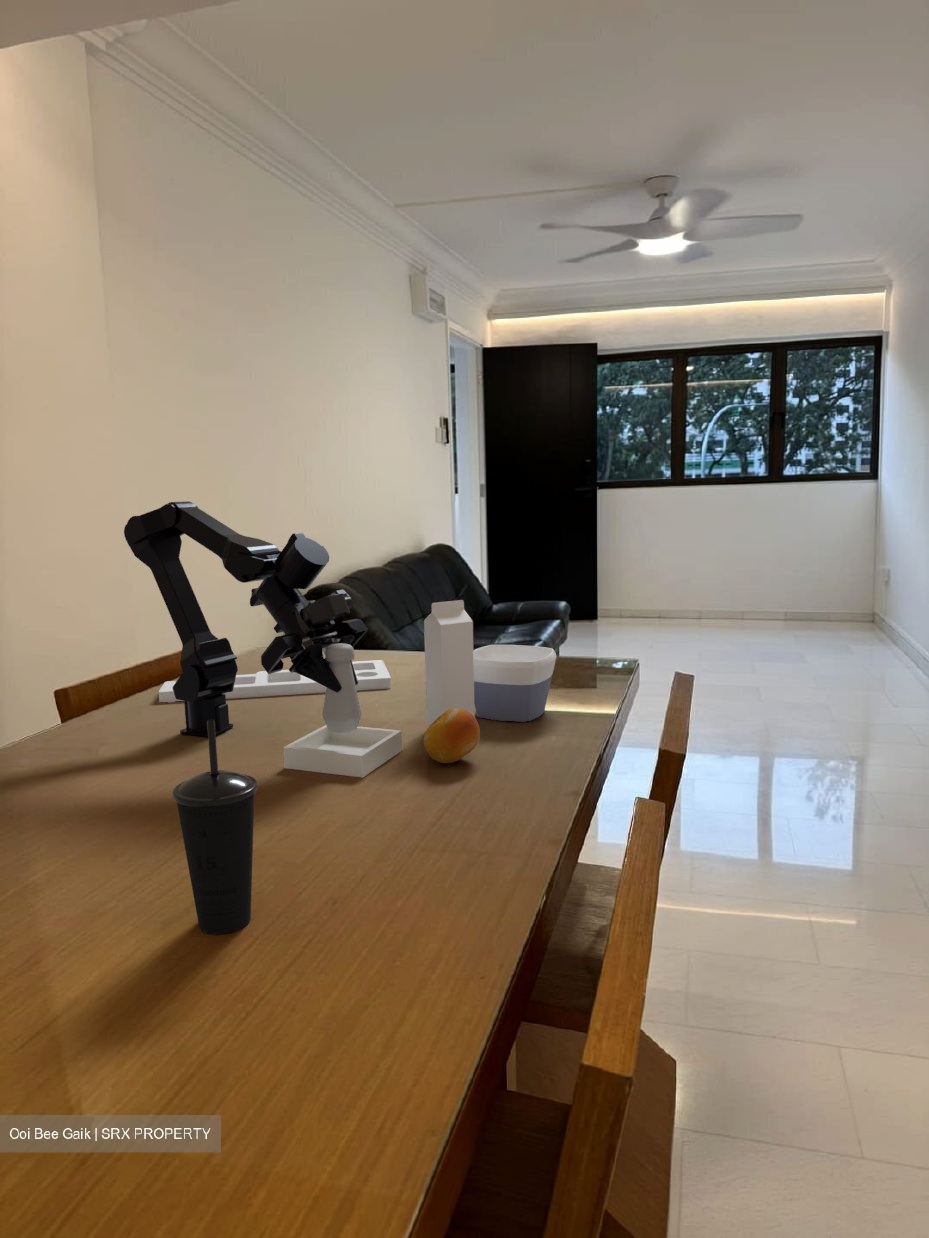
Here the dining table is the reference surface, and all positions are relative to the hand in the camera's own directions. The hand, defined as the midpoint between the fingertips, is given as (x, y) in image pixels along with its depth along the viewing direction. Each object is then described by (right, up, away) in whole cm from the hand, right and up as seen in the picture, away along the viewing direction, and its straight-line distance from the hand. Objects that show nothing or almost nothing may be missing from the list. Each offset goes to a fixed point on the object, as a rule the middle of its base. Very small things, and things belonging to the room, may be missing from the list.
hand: (347, 687), depth 129 cm
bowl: (+26, -7, +26) cm, 37 cm away
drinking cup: (-6, -19, -45) cm, 50 cm away
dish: (-1, -11, +2) cm, 11 cm away
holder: (-21, -4, +51) cm, 56 cm away
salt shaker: (-1, -7, +2) cm, 7 cm away
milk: (+15, -9, +15) cm, 23 cm away
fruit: (+16, -11, 0) cm, 19 cm away
